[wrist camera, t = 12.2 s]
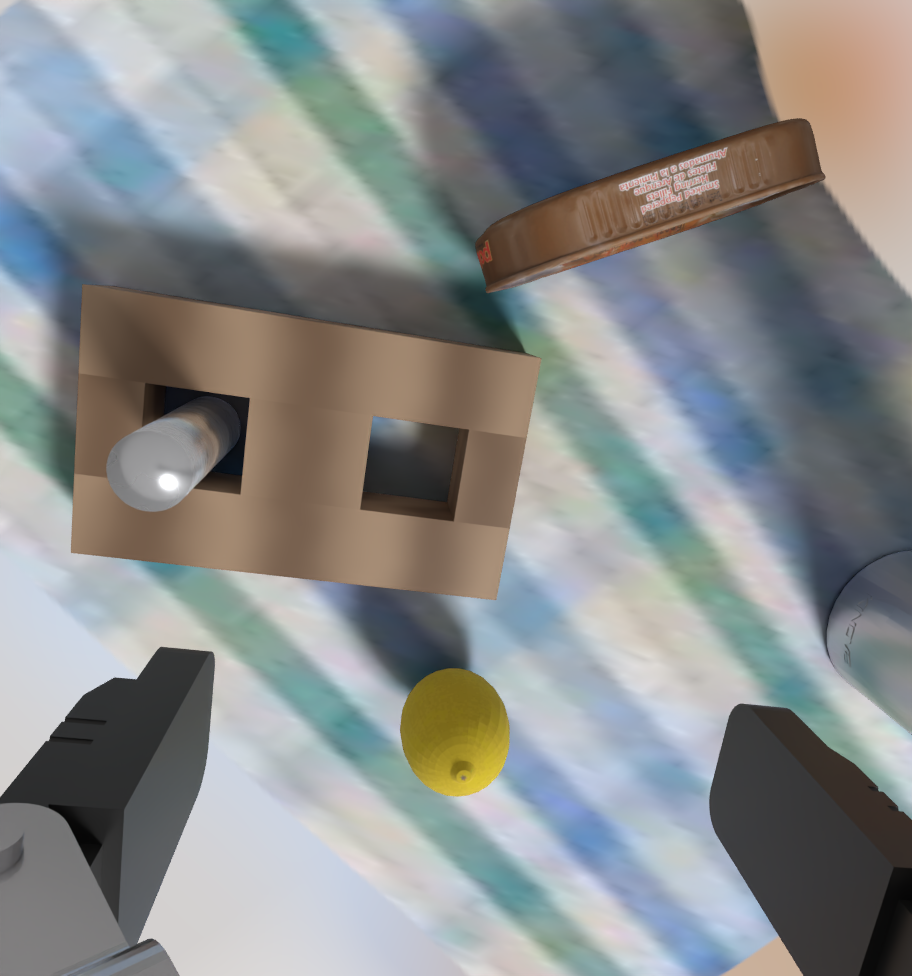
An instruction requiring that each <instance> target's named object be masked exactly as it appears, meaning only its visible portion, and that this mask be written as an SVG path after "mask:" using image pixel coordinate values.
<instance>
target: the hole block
mask: <svg viewBox="0 0 912 976" xmlns="http://www.w3.org/2000/svg"><path fill="white" fill-rule="evenodd" d="M540 363H541V358H539V357H536V356H533V355H530V354H528V353H523V352H517V351H511V350H504V349H498V348H492V347H486V346H480V345H473V344H467V343H461V342H455V341H449V340H443V339H436V338H430V337H424V336H418V335H412V334H405V333H399V332H393V331H387V330H381V329H374V328H368V327H362V326H356V325H350V324H344V323H337V322H331V321H325V320H319V319H313V318H306V317H300V316H294V315H288V314H282V313H275V312H269V311H263V310H257V309H251V308H245V307H238V306H232V305H226V304H220V303H214V302H207V301H201V300H195V299H189V298H183V297H177V296H170V295H164V294H158V293H152V292H146V291H139V290H133V289H127V288H121V287H115V286H103V285H85V284H82V304H81V327H80V351H79V374H78V398H77V421H76V444H75V468H74V491H73V514H72V538H71V553H78V554H87V555H96V556H105V557H114V558H123V559H132V560H141V561H149V562H158V563H167V564H176V565H185V566H194V567H203V568H212V569H221V570H230V571H239V572H248V573H257V574H266V575H275V576H284V577H293V578H302V579H311V580H320V581H329V582H338V583H347V584H356V585H365V586H374V587H383V588H392V589H401V590H410V591H419V592H428V593H437V594H446V595H455V596H464V597H473V598H481V599H490V600H496V598H497V593H498V588H499V582H500V577H501V572H502V566H503V561H504V555H505V550H506V545H507V539H508V534H509V529H510V523H511V518H512V513H513V507H514V502H515V497H516V491H517V486H518V481H519V475H520V470H521V465H522V459H523V454H524V449H525V443H526V438H527V432H528V427H529V422H530V416H531V411H532V406H533V400H534V395H535V390H536V384H537V379H538V374H539V368H540ZM166 386H170V387H177V388H184V389H191V390H198V391H205V392H212V393H219V394H226V395H233V396H239V397H246V398H250V402H249V413H248V423H247V433H246V443H245V454H244V464H243V474H242V476H241V475H234V474H226V473H218V472H209V473H208V474H207V475H206V476H205V477H204V478H203V479H202V480H201V481H200V482H199V483H198V484H197V485H196V486H195V487H194V488H193V489H192V490H191V491H190V492H189V493H188V494H187V495H186V496H185V497H184V498H183V499H182V500H181V501H180V502H179V503H178V504H176V505H175V506H173V507H171V508H169V509H166V510H163V511H156V512H149V511H142V510H139V509H136V508H133V507H131V506H129V505H128V504H126V503H125V502H123V501H122V500H121V499H120V498H119V497H118V496H117V495H116V494H115V492H114V491H113V489H112V488H111V486H110V484H109V481H108V478H107V472H106V465H107V460H108V456H109V454H110V452H111V450H112V448H113V447H114V446H115V444H116V443H117V442H118V441H120V440H121V439H122V438H124V437H125V436H127V435H129V434H131V433H133V432H135V431H136V430H138V429H140V428H142V427H144V426H146V425H147V424H149V423H151V422H153V421H155V420H157V419H158V418H160V417H162V416H164V407H165V393H166ZM373 416H378V417H385V418H392V419H398V420H405V421H412V422H419V423H426V424H433V425H440V426H447V427H454V428H459V432H458V438H457V444H456V450H455V456H454V462H453V469H452V475H451V481H450V487H449V493H448V499H447V502H442V501H434V500H426V499H419V498H411V497H403V496H395V495H388V494H380V493H372V492H365V491H363V484H364V477H365V470H366V462H367V455H368V448H369V441H370V433H371V426H372V419H373Z"/></svg>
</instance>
